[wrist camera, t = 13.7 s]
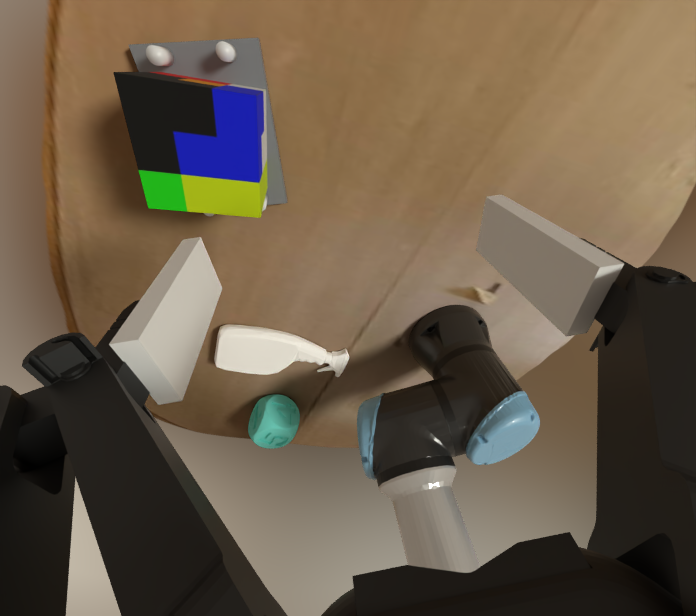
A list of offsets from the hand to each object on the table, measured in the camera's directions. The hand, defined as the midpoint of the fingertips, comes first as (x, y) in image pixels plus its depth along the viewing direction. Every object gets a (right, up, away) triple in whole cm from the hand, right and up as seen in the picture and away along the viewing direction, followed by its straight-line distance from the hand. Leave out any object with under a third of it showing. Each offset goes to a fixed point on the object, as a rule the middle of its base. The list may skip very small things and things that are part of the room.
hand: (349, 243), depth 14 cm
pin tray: (-14, +17, +20) cm, 30 cm away
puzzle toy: (-14, +16, +19) cm, 29 cm away
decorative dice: (-16, -24, +53) cm, 61 cm away
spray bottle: (-12, -11, +43) cm, 46 cm away
